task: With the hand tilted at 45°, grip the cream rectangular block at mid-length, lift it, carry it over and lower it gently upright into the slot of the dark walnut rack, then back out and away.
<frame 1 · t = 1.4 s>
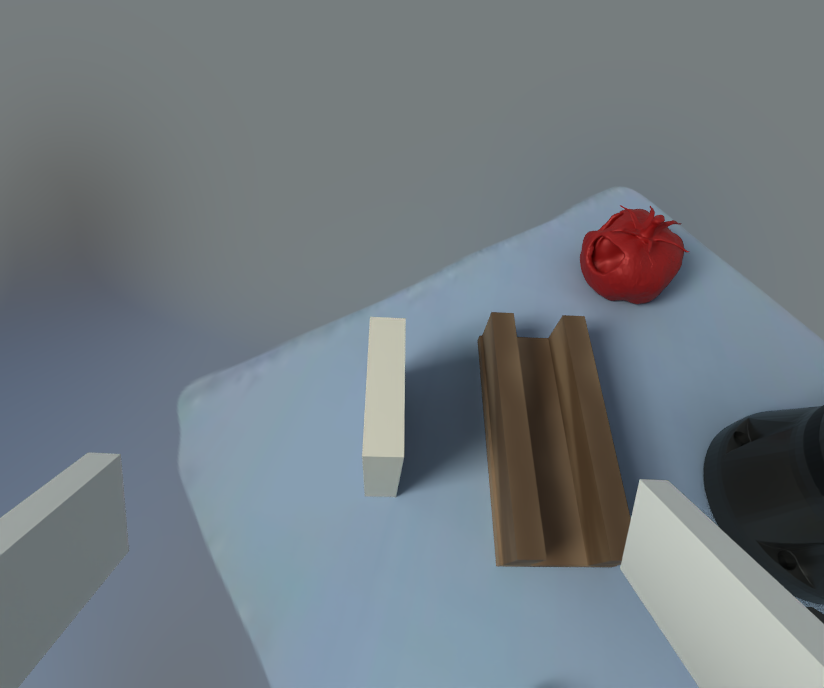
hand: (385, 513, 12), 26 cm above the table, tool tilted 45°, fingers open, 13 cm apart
cream rectangular block: (382, 436, 40), on the table
rack: (536, 440, 40), on the table
pomegranate: (613, 278, 51), on the table
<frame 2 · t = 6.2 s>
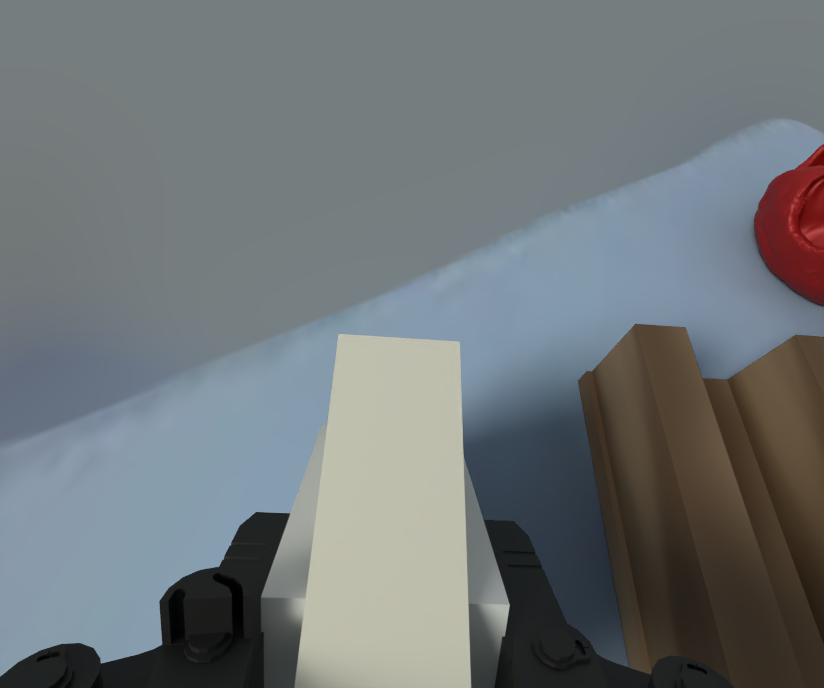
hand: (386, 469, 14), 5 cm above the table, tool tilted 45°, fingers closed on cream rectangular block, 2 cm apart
cream rectangular block: (376, 618, 16), on the table, touching gripper
rack: (739, 629, 17), on the table
pomegranate: (810, 264, 28), on the table
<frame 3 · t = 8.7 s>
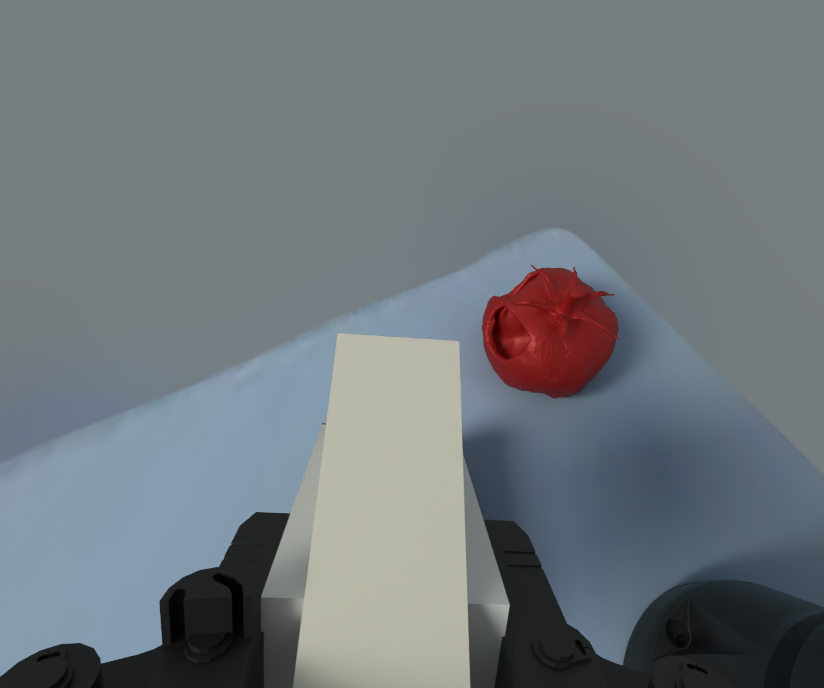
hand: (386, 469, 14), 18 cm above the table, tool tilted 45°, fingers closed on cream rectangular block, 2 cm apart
cream rectangular block: (375, 618, 16), point 13 cm above the table, touching gripper
pomegranate: (531, 355, 38), on the table
when the fingers open (8 cm above the table, at t = 11.5 s): cream rectangular block drops 1 cm, resting on rack.
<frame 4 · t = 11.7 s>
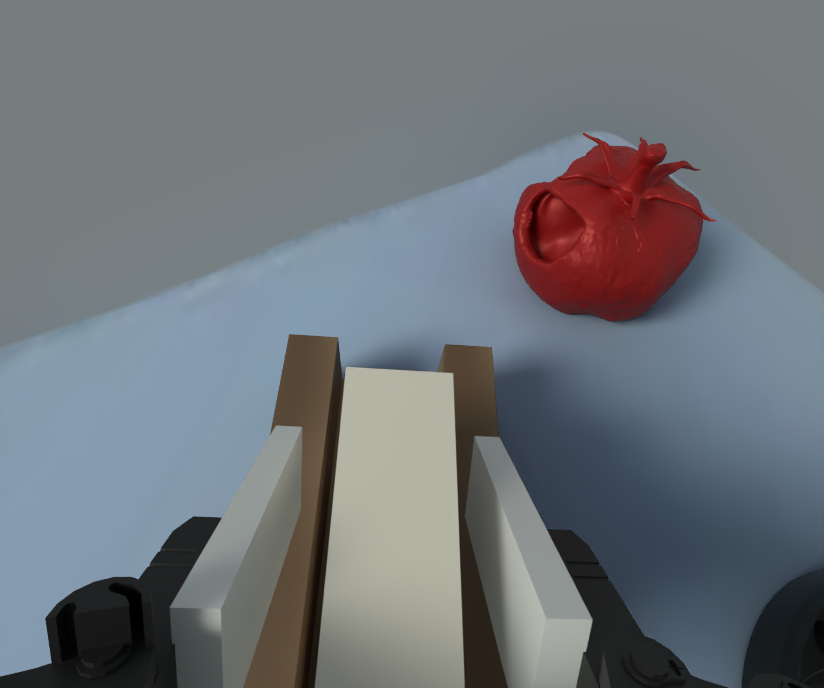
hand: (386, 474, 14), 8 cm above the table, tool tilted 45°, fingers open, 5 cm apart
cream rectangular block: (374, 618, 18), point 1 cm above the table, touching rack
rack: (374, 618, 18), on the table
pomegranate: (576, 273, 29), on the table
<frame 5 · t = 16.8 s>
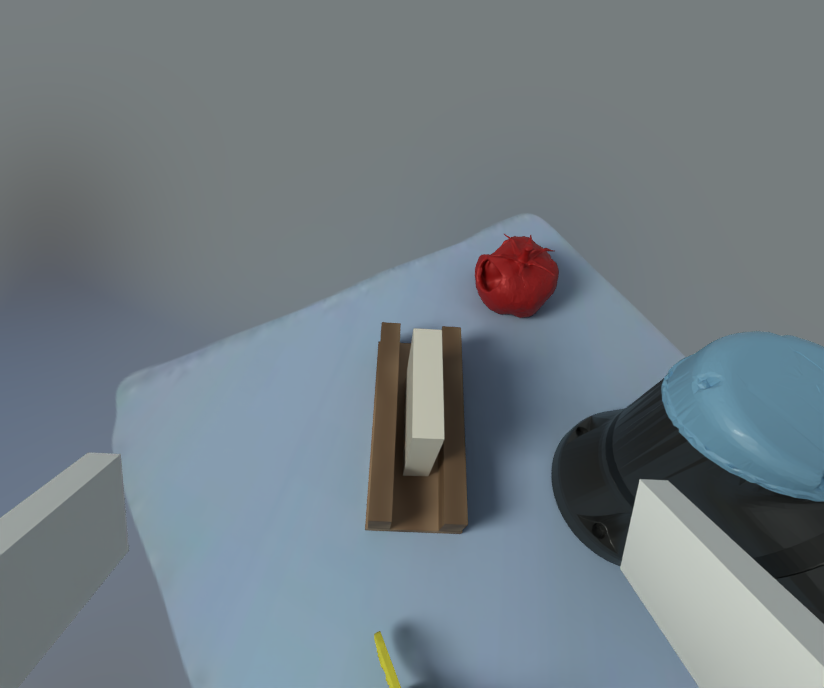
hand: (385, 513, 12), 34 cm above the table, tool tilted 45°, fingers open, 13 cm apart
cream rectangular block: (415, 427, 47), point 1 cm above the table, touching rack
rack: (415, 430, 48), on the table
pomegranate: (507, 294, 59), on the table
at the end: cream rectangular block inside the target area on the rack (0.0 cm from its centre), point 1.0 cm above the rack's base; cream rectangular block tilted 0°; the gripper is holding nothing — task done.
